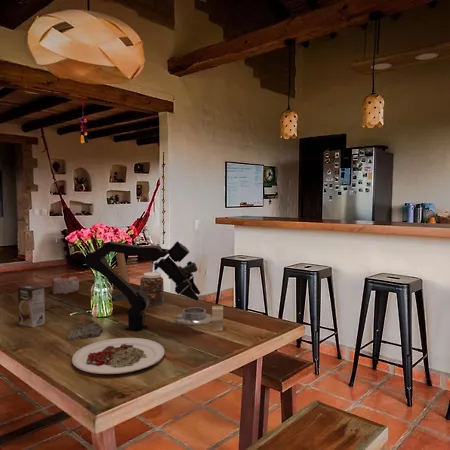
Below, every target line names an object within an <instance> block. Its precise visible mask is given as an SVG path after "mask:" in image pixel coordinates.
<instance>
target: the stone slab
mask: <svg viewBox="0 0 450 450" xmlns="http://www.w3.org/2000/svg"><path fill="white" fill-rule="evenodd" d="M103 331H104V329H103V327H102V326H101V325H100V324H99V323H97V322H95V321H94V320H91V321H88V322H84V323H81V324H77V325H76V326H73V327H71V328H70V329H69V333H68V334H67V337H65V338H66V341H76V340H75V339H77V340H83V339H88V338H89V337H90V338H91V339H93V338H98V337H101V333H102V332H103ZM79 338H80V339H79Z"/></svg>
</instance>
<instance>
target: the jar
mask: <svg viewBox="0 0 450 450" xmlns="http://www.w3.org/2000/svg"><path fill="white" fill-rule="evenodd" d="M139 282H140V283H139V284H140V285H139V287H140V288H141V289H142V290H143V291H144V292H145V293H146V294H148V295H147V296H148V297H149V304H148V306H147V307H157V306H161V305H163V304H164V302H165V301H164V290H165V289H164V278H163V277H162V276H161V273H160V272H152V271H149V272H144V273H143V276H142V277H141V278H140V281H139Z"/></svg>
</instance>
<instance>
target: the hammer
mask: <svg viewBox="0 0 450 450" xmlns="http://www.w3.org/2000/svg"><path fill="white" fill-rule="evenodd" d="M115 256H116V262H117V266H118V267H117V268H118V271H119V272H118V273H119V275H120V276H121V277H122V278H123V279H124V280H125V281H127V282H128V283H129V284H130V285H131V282H130V277H129V272H128V268H127V263H126V258H125V254H123V253H118V254H117V255H116V254H115ZM133 288H134V289H136V290H139V289H140V286H134V287H133ZM111 294H112V298H113V299H112V298H111V299H112V300H114V301H122V300H128V299H127V297H126V296H125V295H124V294H123V293H122V292H121V291H119V292H115V293H111Z"/></svg>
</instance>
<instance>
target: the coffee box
mask: <svg viewBox="0 0 450 450" xmlns="http://www.w3.org/2000/svg"><path fill="white" fill-rule="evenodd" d="M17 304H18V305H17V307H18V310H17V311H18V313H17V315H18V325H21V326H24V327H27V328H28V327H29V328H35V327H38V326H42V325H45V322H46V321H45V318H46V317H45V314H46V313H45V286H42V285H35V284H31V283H30V284H25V285H21V286H19V285H18V286H17Z"/></svg>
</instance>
